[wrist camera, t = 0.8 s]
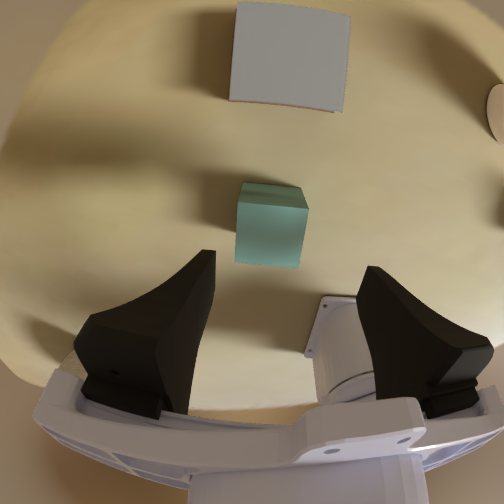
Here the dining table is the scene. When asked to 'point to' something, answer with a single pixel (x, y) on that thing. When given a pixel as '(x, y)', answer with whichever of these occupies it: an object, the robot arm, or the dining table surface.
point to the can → (496, 112)
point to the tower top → (290, 55)
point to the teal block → (270, 225)
